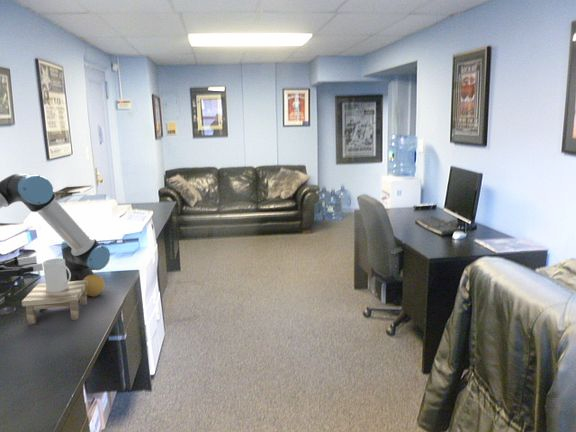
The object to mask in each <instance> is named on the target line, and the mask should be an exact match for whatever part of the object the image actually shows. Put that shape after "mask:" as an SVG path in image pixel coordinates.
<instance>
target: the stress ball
mask: <svg viewBox="0 0 576 432" xmlns="http://www.w3.org/2000/svg"><path fill="white" fill-rule="evenodd" d="M83 280H87V282H88V285H87V287H86V294H87V297H88V296H89V297H93V298H94V297H97V296H98V295H101V293H102V292H103V291H104V289H105V286H106V285H105V280H104V279H103V277H102V276H100V275H99V274H95V273H93V274H92V275H88V276H86V277H85V278H84V279H83Z"/></svg>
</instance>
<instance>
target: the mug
mask: <svg viewBox="0 0 576 432" xmlns="http://www.w3.org/2000/svg"><path fill="white" fill-rule="evenodd" d="M42 266H43V273H44V281H45V284H46V291H47V292H60V291H63V290H66V289H67V288H68V287H69V286H68V282H69V281H70V279H71V273H70V270H69V269H68V267H67V266H65V259H63V258H61V257H59V258H50V259H47V260H44V261H43V262H42ZM66 269H67V271H68V273H69V279H68V280H67V274H66Z"/></svg>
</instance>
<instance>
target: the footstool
mask: <svg viewBox="0 0 576 432" xmlns="http://www.w3.org/2000/svg"><path fill="white" fill-rule="evenodd" d="M87 285H88V282H87V280H82V281H70V282H68V286H69V287H68V288H67V289H66V290H63V291H60V292H47V291H46V283H38V284H37V285H36V286H35V287H34V288H32V290H30V292H28V294H27V295H26V296H25V298H23V299H22V300H21V306H22V307H25V311H26V320H27V325H34V324H36V323H37V315H36V310H44V309H45V310H46V309H54V308H55V309H56V308H65V307H66V308H68V307H69V310H70V311H69V312H70V317H71V318H70V320H71V321H75V320H79V318H80V312H79V305H81V306H86V305H87V304H88V295H87V294H86V287H87ZM78 302H79V303H78Z"/></svg>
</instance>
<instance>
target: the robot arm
mask: <svg viewBox="0 0 576 432" xmlns="http://www.w3.org/2000/svg"><path fill="white" fill-rule="evenodd" d="M56 196H57V194H56V193H55V192H54V187H53V184H52V183H51V181H50V180H49V179H48V178H47V177H45V176H42V175H40V174H34V173H31V174H30V173H29V174H28V173H15V174H11V175H9V176H7V177H5V178H4V179H2V180H0V209H1V208H3V207H4V208H7V207H9V206H11V205H12V204H14V203H18V202H22V203H23V204H24V205H25V206H26V208H28V209H29V211H30V212H33V213H38V215H40V216H41V218H42V219H43V220H44V221H45V222H46V224H48V225H49V226H50V227H51V228H52V229H53V230H54V231H55V233H57V234H58V236H59V237H61V239H62V240H63V241H62V242H61V254H62V259H65V266H67V267H68V269H69V270H70V273H71V279H70V281H82V280H83V279H84V278H85V277H86V276H88V275H92V274H94V272H93V271H101V270H103V269H104V268H105V267H106V266H107V265H108V264H109V262H110V258H111V253H110V249H109V248H108V247H106V246H105V245H101V244H100V243H99V242H98V241H97V239H95V237H94V236H88V235H87V234H86V232H84V230H83V229H82V228H81V227H80V226H79V225H78V223H77V222H76V221H75V220H74V218H72V216H70V215H69V213H68V211H66V209H65V208H63V207H62V205H61V204H60V203H59V202H58V201H57V200H56ZM37 260H38V259H37V255H31V256H26V257H19V258H18V257H17V256H14V257H12V258H9V259H4V260H1V261H0V278H12V277H25V274H30V273H35V272H41V271H44V266H43V262H40V263H37V262H38V261H37ZM15 266H21V267H15ZM66 274H67V280H68V279H69V273H68V271H67V269H66ZM70 281H69V282H70Z"/></svg>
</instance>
